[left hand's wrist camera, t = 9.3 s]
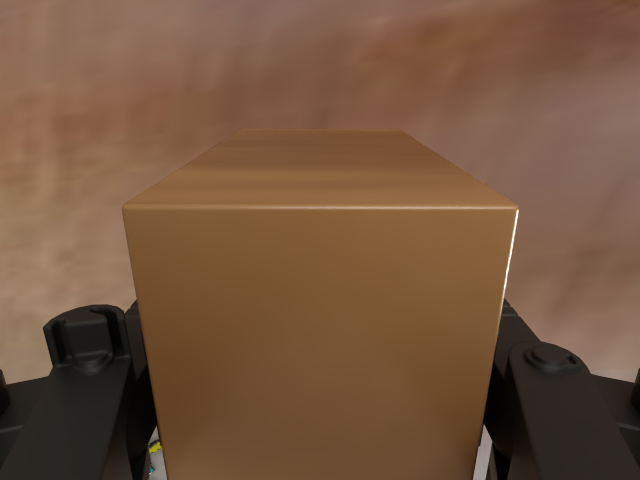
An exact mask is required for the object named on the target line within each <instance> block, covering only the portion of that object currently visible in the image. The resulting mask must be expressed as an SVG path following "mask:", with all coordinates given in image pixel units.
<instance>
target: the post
mask: <svg viewBox="0 0 640 480" xmlns="http://www.w3.org/2000/svg"><path fill="white" fill-rule="evenodd" d="M518 213H519V209H518V205H516V204H515V203H513V202H511V201H510V200H508V199H507V198H505V197H504V196H502V195H501V194H499V193H498V192H496V191H494V190H493V189H491V188H490V187H488V186H487V185H485V184H484V183H482V182H480V181H479V180H477V179H476V178H474V177H473V176H471V175H470V174H468V173H467V172H465V171H463V170H462V169H460V168H459V167H457V166H456V165H454V164H453V163H451V162H449V161H448V160H446V159H445V158H443V157H442V156H440V155H439V154H437V153H436V152H434V151H432V150H431V149H429V148H428V147H426V146H425V145H423V144H422V143H420V142H418V141H417V140H415V139H414V138H412V137H411V136H409V135H408V134H406V133H404V132H403V131H401V130H400V129H241V130H239V131H238V132H236V133H235V134H233V135H232V136H230V137H228V138H227V139H225V140H224V141H222V142H221V143H219V144H217V145H216V146H214V147H213V148H211V149H210V150H208V151H207V152H205V153H203V154H202V155H200V156H199V157H197V158H196V159H194V160H193V161H191V162H189V163H188V164H186V165H185V166H183V167H182V168H180V169H178V170H177V171H175V172H174V173H172V174H171V175H169V176H168V177H166V178H164V179H163V180H161V181H160V182H158V183H157V184H155V185H153V186H152V187H150V188H149V189H147V190H146V191H144V192H143V193H141V194H139V195H138V196H136V197H135V198H133V199H132V200H130V201H128V202H127V203H125V204H124V205H123V207H122V214H123V220H124V226H125V232H126V238H127V244H128V249H129V255H130V261H131V267H132V273H133V279H134V285H135V291H136V297H137V303H138V309H139V315H140V321H141V327H142V332H143V338H144V344H145V350H146V356H147V362H148V368H149V374H150V380H151V386H152V392H153V398H154V404H155V410H156V415H157V421H158V427H159V433H160V439H161V445H162V451H163V457H164V463H165V469H166V475H167V480H473V475H474V470H475V464H476V458H477V452H478V446H479V440H480V435H481V429H482V423H483V417H484V411H485V405H486V400H487V394H488V388H489V382H490V376H491V370H492V364H493V359H494V353H495V347H496V341H497V335H498V329H499V324H500V318H501V312H502V306H503V300H504V294H505V289H506V283H507V277H508V271H509V265H510V259H511V254H512V248H513V242H514V236H515V230H516V224H517V218H518Z"/></svg>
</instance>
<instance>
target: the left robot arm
mask: <svg viewBox="0 0 640 480" xmlns="http://www.w3.org/2000/svg"><path fill="white" fill-rule="evenodd" d="M43 331H44V334H45V338H46V342H47V346H48V350H49V354H50V357H51V361H52V365H53V368H52V370H51V372H50V374H49V376H47V377H43V378H38V379H33V380H28V381H23V382H18V383H13V384H7V385H6V382H5V378H4V375H3V372H2V370H1V369H0V480H149V473H150V466H151V459H150V452H149V447H148V442H149V440H150V438H151V436H152V434H153V432H154V430H155V428H156V425H157V430H158V436H159V442H160V446H162V445H161V439H160V433H159V427H158V421H157V415H156V410H155V404H154V398H153V392H152V386H151V380H150V374H149V368H148V362H147V356H146V350H145V344H144V338H143V332H142V327H141V321H140V315H139V309H138V303H137V299H136V301H135V302H134V303H133V304H132V305H131V307H130V309H128V310H127V311H126V313H125V314H124V311H123V310H121V309H120V308H119V307H117V306H112V305H107V304H104V305H89V306H84V307H79V308H75V309H73V310H70V311H67V312H64V313H62V314H60V315H58V316H57V317H55V318H53V319H51V320H50V321H49V322H48V323H47V324H46V325H45V326H44V327H43ZM484 425H485V427H486V429H487V431H488V433H489V435H490V437H491V439H492V447H491V452H490V458H489V463H488V469H487V474H486V480H640V368H639V370H638V373H637V377H636V380H635V383H633V382H628V381H622V380H617V379H612V378H607V377H602V376H597V375H593V374H591V373H590V371H589V369H588V368H587V366H586V365H585V364H584V362H583V361H582V360H581V359H580V358H579V357H578V356H576V355H575V354H573V353H572V352H570V351H569V350H566V349H564V348H561V347H559V346H557V345H554V344H550V343H545V342H541V341H540V340H539V339H538V338H537V336H536V335H535V334H534V333H533V332H532V330H531V329H530V328H529V327H528V326H527V324H526V323H525V322H524V321H523V320H522V319H521V317H520V316H518V314H517V313H516V311H515V310H514V309H513V308H512V307H510V304H509V303H508V302H507V301H506V300H505V298H504V300H503V306H502V312H501V318H500V324H499V329H498V335H497V341H496V347H495V353H494V359H493V364H492V370H491V376H490V382H489V388H488V394H487V400H486V405H485V411H484V417H483V423H482V429H481V435H480V440H479V446H480V444H481V438H482V432H483V426H484Z"/></svg>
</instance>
